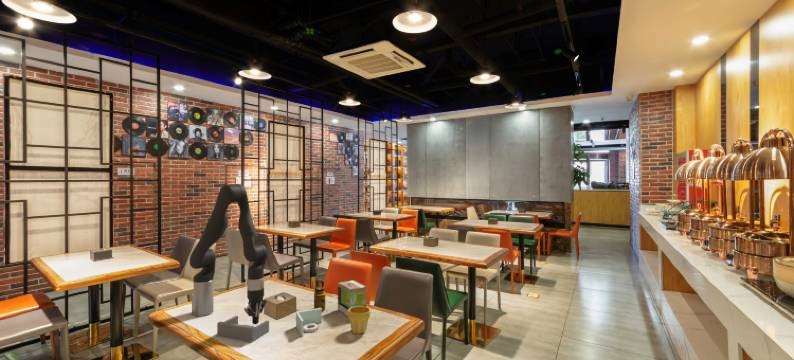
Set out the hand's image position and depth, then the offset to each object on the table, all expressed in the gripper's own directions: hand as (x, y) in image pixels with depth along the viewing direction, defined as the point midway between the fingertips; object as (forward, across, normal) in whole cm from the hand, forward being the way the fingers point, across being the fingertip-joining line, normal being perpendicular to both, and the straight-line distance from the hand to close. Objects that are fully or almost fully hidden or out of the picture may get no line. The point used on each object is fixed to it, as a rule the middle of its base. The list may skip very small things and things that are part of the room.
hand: (255, 323), depth 165 cm
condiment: (+2, -28, +17) cm, 33 cm away
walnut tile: (+2, +8, +1) cm, 8 cm away
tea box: (+2, -32, +35) cm, 48 cm away
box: (+1, +8, 0) cm, 8 cm away
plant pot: (+2, -12, +48) cm, 50 cm away
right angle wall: (+2, -7, +27) cm, 28 cm away
